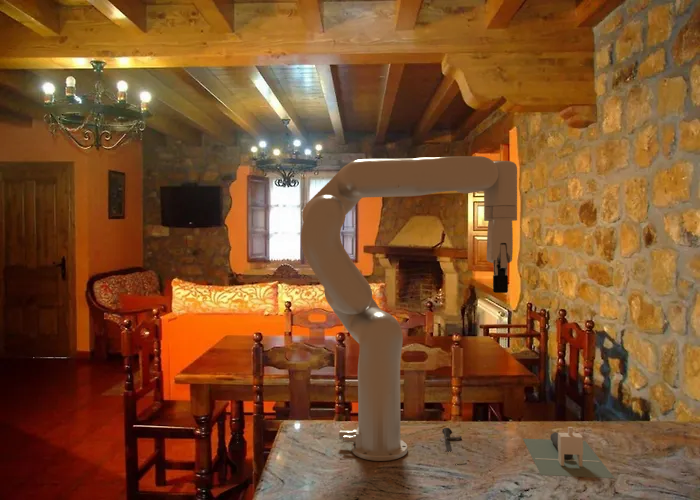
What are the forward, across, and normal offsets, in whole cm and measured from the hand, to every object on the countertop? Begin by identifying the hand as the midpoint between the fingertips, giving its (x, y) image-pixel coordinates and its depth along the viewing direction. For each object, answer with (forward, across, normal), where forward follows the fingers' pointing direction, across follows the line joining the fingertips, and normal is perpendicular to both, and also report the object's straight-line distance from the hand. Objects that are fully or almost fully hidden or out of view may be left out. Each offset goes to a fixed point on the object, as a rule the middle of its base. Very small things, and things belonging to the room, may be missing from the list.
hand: (500, 292), depth 132 cm
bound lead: (+34, +8, +12) cm, 37 cm away
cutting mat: (+35, +11, +12) cm, 39 cm away
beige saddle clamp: (+34, +15, +12) cm, 39 cm away
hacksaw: (+36, +7, -8) cm, 37 cm away
